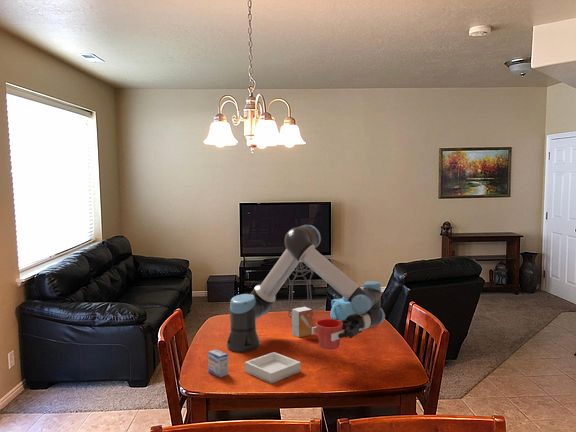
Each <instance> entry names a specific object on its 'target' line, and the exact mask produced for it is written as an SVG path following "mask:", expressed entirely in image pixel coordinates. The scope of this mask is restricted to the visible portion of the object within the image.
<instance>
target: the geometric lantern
mask: <svg viewBox="0 0 576 432" xmlns="http://www.w3.org/2000/svg"><path fill="white" fill-rule="evenodd" d="M305 267H306V268H305ZM307 269H308V270H307ZM293 272H295V273H293ZM304 272H305V273H304ZM298 273H301V274H300V275H298ZM308 273H311V274H310V277H309V279H307V277H306V275H307V274H308ZM314 273H315V272H314V271H313V270H312V269H311V268H310V267H309V266H307V265H306V264H305V263H304V262H299V263H298V265H297V266H296V267H295V269H294V270H293V271H292V273H291V274H292V275H293V276H294V277H293V279H292V280H291V279H290V276H289V277H288V278H287V280H288V281H289V287H288V289H289V292H288V293H289V294H288V311H287V312H288V315H287V316H288V318H290V319H292V309H294V300H293V299H294V286H299V285H300V286H301V285H302V286H303V285H306V293H307V294H306V295H307V308H310V309H312V317H313V316H314V311H313V298H312V296H313V295H312V286H311V285H312V282H311V281H312V280H311V279H312V278H313V276H314ZM299 277H303V279H297V280H296V278H299ZM302 281H305V283H294V282H302ZM290 307H291V310H290Z"/></svg>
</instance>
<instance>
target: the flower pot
mask: <svg viewBox="0 0 576 432" xmlns="http://www.w3.org/2000/svg"><path fill="white" fill-rule="evenodd" d="M315 326H316V327H317V338H318V339H317V340H318V344H319V345H318V346H319V347H320V348H322V349H323V350H330V351H332V350H337V349H338V348H339V347H340V343H341V339H342V338H340V339H338V340H335V341H331V334H333V333H336V332H339V331H341V330H343V329H342V327H343V323H342V322H341V321H339V320H335V319H331V318H324V319H323V318H322V319H319V320H317V321H316V322H315Z"/></svg>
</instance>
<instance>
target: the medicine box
mask: <svg viewBox="0 0 576 432" xmlns="http://www.w3.org/2000/svg"><path fill="white" fill-rule="evenodd" d="M207 364H208V365H207V366H208V367H207V368H208V370H207V372H208V373H209V374H211V375H214V376H215V377H217V378H222V377H225V376H228V375H229V355H228V353H226V352H223V351H221V350H219V349H212V350H209V351H207Z"/></svg>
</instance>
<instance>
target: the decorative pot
mask: <svg viewBox="0 0 576 432" xmlns="http://www.w3.org/2000/svg"><path fill="white" fill-rule="evenodd" d="M330 304H331V309H330V316H329V317H330V319H339V321H342V320H345V319H346V318H347V317H348V316H349V315H352V314H355V313H356V312H355V311H354V310H353V309H352V306H351V303H350V302H349V301H348V300H347V299H346V298H344V297H343V296H342V298H338V299H337V298H334V299H331V302H330Z"/></svg>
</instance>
